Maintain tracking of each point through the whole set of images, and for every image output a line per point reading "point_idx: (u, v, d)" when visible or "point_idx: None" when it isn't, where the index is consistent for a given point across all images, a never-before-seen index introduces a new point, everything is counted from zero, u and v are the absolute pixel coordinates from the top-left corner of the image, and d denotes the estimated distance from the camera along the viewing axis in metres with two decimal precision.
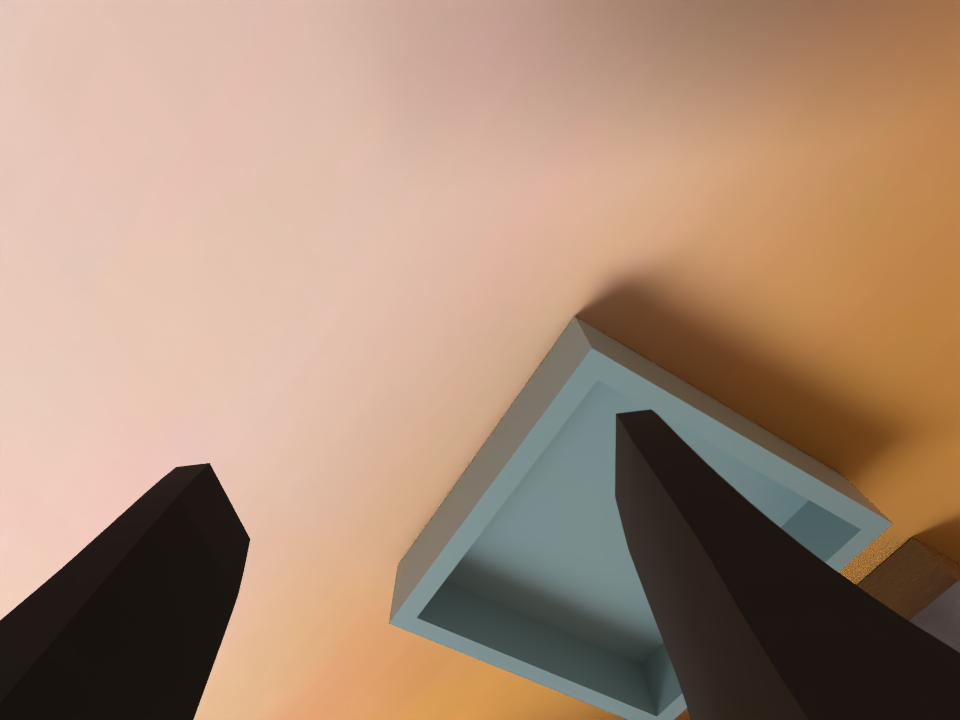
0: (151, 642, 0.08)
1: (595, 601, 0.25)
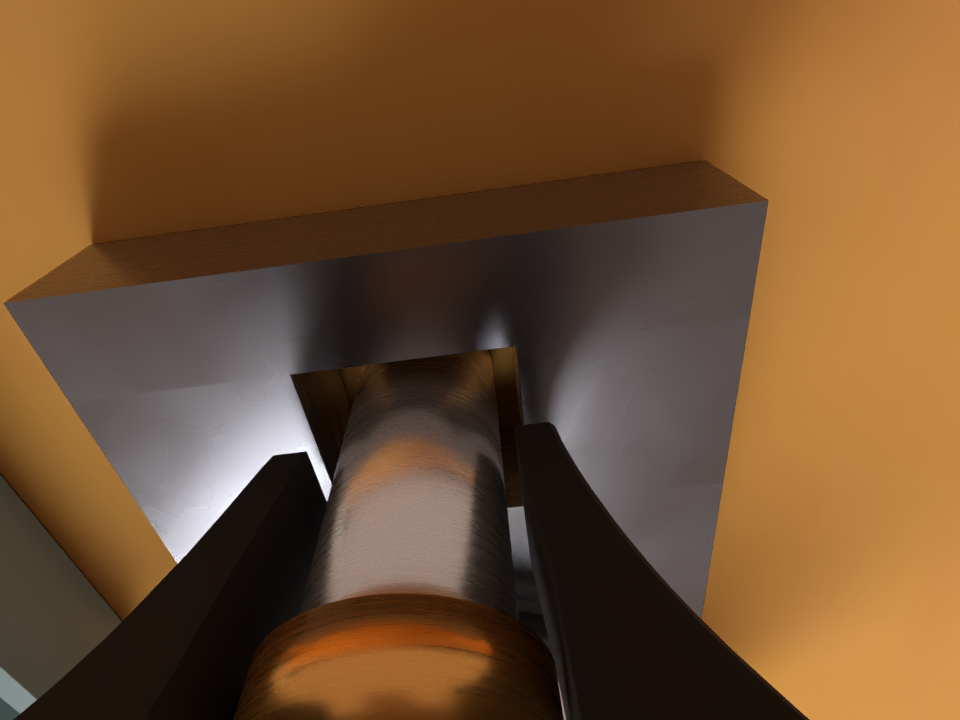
0: (271, 629, 0.08)
1: None
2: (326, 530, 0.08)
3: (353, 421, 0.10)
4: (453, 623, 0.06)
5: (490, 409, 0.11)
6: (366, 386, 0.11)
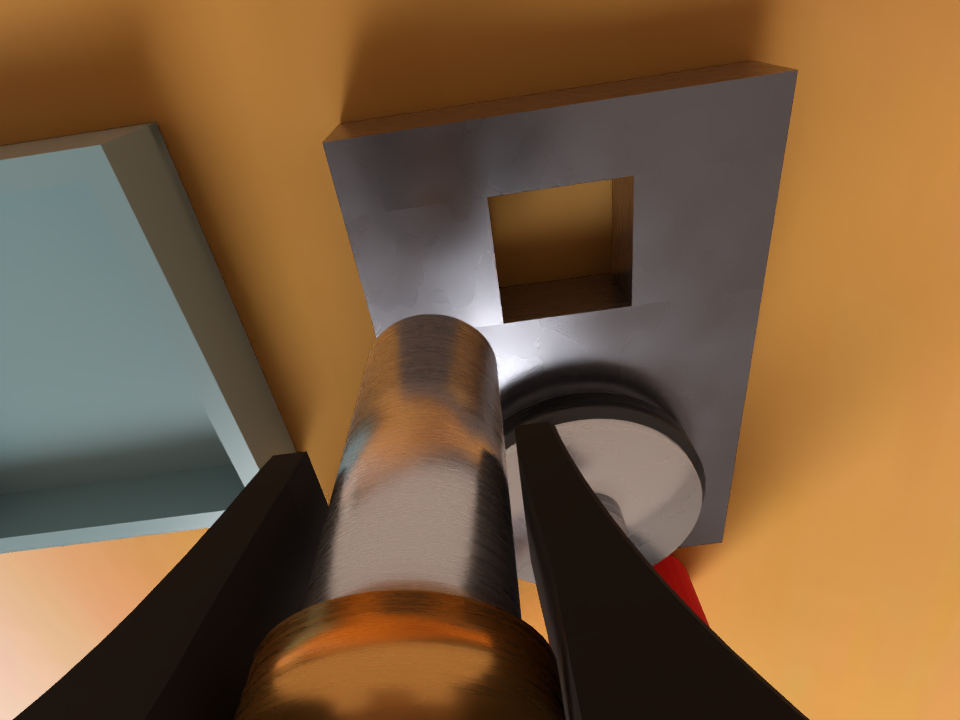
0: (270, 629, 0.08)
1: (144, 431, 0.22)
2: (329, 526, 0.08)
3: (357, 418, 0.10)
4: (455, 620, 0.06)
5: (494, 407, 0.11)
6: (370, 383, 0.11)
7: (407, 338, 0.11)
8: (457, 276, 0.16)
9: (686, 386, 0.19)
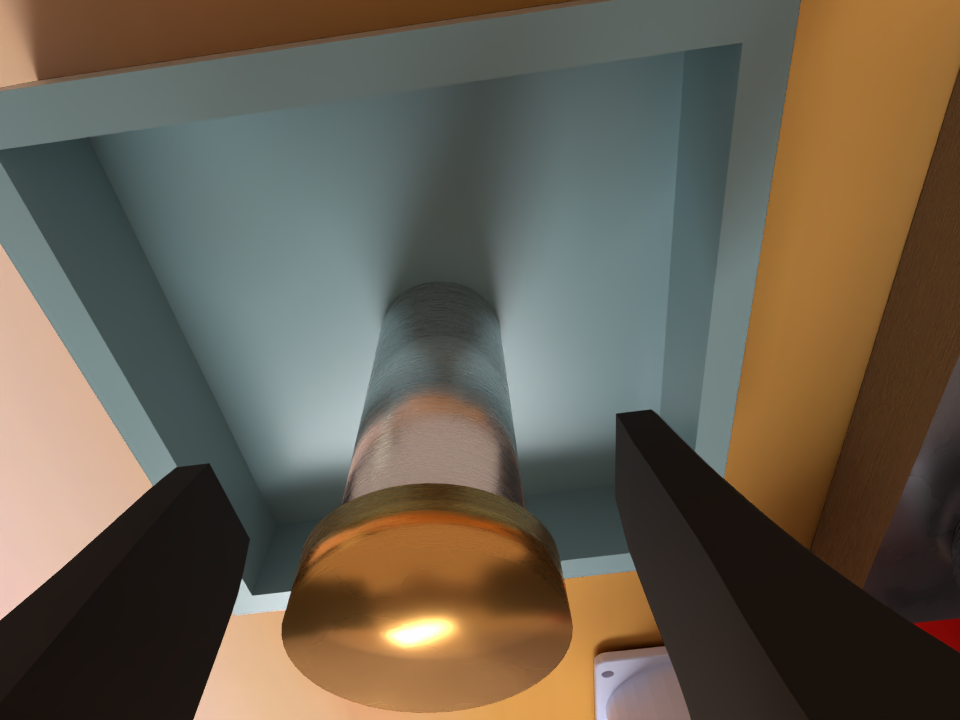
0: (151, 642, 0.08)
1: None
2: (360, 451, 0.09)
3: (378, 368, 0.11)
4: (476, 505, 0.07)
5: (499, 361, 0.12)
6: (388, 340, 0.12)
7: (420, 301, 0.12)
8: None
9: None
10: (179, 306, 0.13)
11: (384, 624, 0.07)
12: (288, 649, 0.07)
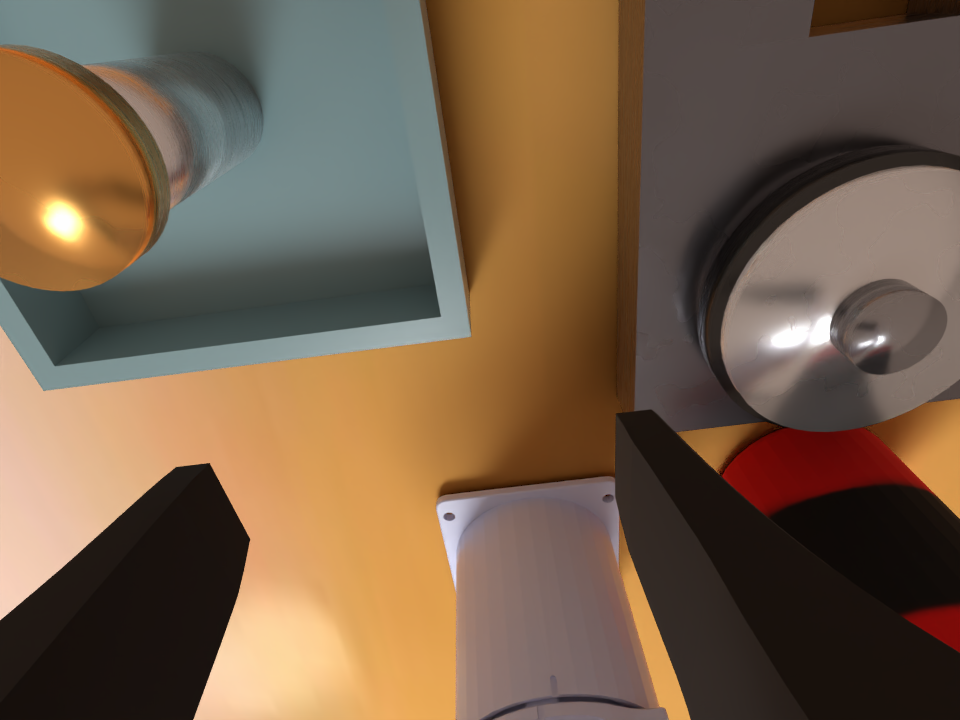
0: (151, 642, 0.08)
1: (296, 235, 0.18)
2: None
3: None
4: (42, 53, 0.09)
5: (219, 93, 0.13)
6: None
7: None
8: None
9: None
10: None
11: None
12: None
